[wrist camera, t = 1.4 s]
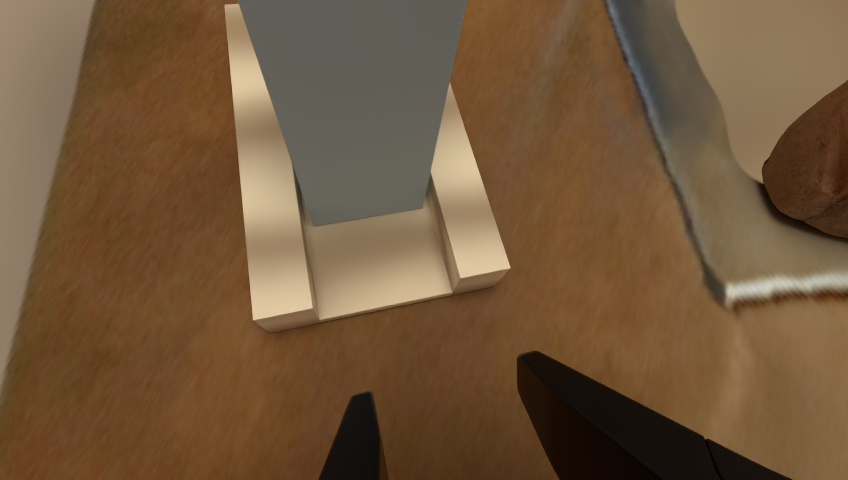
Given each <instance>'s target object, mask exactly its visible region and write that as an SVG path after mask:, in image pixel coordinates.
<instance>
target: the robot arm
mask: <svg viewBox="0 0 848 480" xmlns="http://www.w3.org/2000/svg"><path fill="white" fill-rule="evenodd" d="M517 387H518V392H519V395H520V397H521V400H522V402H523V404H524V406H525V408H526V411H527V413H528V415H529V417H530V419H531V422H532V424H533V426H534V428H535V431H536V433H537V435H538V437H539V439H540V442H541V444H542V446H543V448H544V450H545V453H546V455H547V457H548V459H549V461H550V463H551V465H552V467H553V469H554V470H555V472H556V474H557V476H558V478H559V479H560V480H792V479H790V478H788V477H786V476H784V475H781V474H779V473H777V472H775V471H773V470H770V469H768V468H766V467H764V466H762V465H760V464H758V463H756V462H754V461H752V460H750V459H748V458H746V457H744V456H742V455H740V454H738V453H736V452H734V451H732V450H730V449H728V448H726V447H724V446H722V445H720V444H718V443H716V442H714V441H712V440H710V439H705V438H704V437H703V436H702V435H700V434H698V433H696V432H694V431H692V430H690V429H689V428H687V427H685V426H683V425H681V424H679V423H677V422H675V421H673V420H671V419H669V418H667V417H665V416H663V415H661V414H659V413H657V412H655V411H654V410H652V409H650V408H648V407H646V406H644V405H642V404H640V403H638V402H636V401H634V400H632V399H630V398H628V397H626V396H624V395H622V394H620V393H619V392H617V391H615V390H613V389H611V388H609V387H607V386H605V385H603V384H601V383H599V382H597V381H595V380H593V379H591V378H589V377H587V376H585V375H584V374H582V373H580V372H578V371H576V370H574V369H572V368H570V367H568V366H566V365H564V364H562V363H560V362H558V361H556V360H554V359H552V358H551V357H549V356H547V355H545V354H543V353H541V352H539V351H531V352H527V353H522V354H520V355H519V356H518V358H517ZM318 480H389V478H388V473H387V467H386V462H385V456H384V451H383V445H382V440H381V434H380V429H379V424H378V418H377V413H376V407H375V402H374V397H373V393H372V392H371V391H366V392H362V393H358V394H354V395H353V396H352V397H351V398H350V401H349V403H348V406H347V408H346V411H345V413H344V416H343V418H342V421H341V423H340V426H339V429H338V431H337V434H336V436H335V439H334V441H333V444H332V446H331V449H330V451H329V454H328V457H327V459H326V462H325V464H324V467H323V469H322V472H321V474H320V477H319V479H318Z"/></svg>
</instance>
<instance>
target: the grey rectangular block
mask: <svg viewBox="0 0 848 480" xmlns="http://www.w3.org/2000/svg"><path fill="white" fill-rule="evenodd" d="M237 1H238V3H239V6H240V9H241V12H242V15H243V18H244V21H245V24H246V27H247V30H248V33H249V36H250V39H251V42H252V45H253V48H254V51H255V54H256V57H257V60H258V63H259V66H260V69H261V72H262V75H263V78H264V81H265V84H266V87H267V90H268V93H269V96H270V99H271V102H272V105H273V108H274V111H275V114H276V117H277V120H278V123H279V126H280V129H281V131H282V134H283V137H284V140H285V143H286V146H287V149H288V152H289V155H290V158H291V161H292V164H293V167H294V170H295V173H296V176H297V179H298V182H299V185H300V188H301V191H302V194H303V197H304V200H305V203H306V206H307V209H308V212H309V215H310V218H311V221H312V224H313V226H318V225H324V224H330V223H336V222H342V221H348V220H354V219H360V218H366V217H372V216H378V215H384V214H390V213H396V212H401V211H407V210H413V209H419V208H423V204H424V200H425V195H426V190H427V186H428V181H429V176H430V172H431V167H432V162H433V158H434V153H435V148H436V144H437V139H438V134H439V130H440V125H441V120H442V116H443V111H444V106H445V101H446V97H447V92H448V87H449V83H450V78H451V73H452V69H453V64H454V59H455V55H456V50H457V45H458V41H459V36H460V31H461V27H462V22H463V17H464V12H465V8H466V3H467V0H237Z"/></svg>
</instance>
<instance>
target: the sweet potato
mask: <svg viewBox="0 0 848 480" xmlns="http://www.w3.org/2000/svg"><path fill="white" fill-rule="evenodd" d="M762 176H763V182H764V185H765V187H766V190H767V192H768V194H769V196H770V199H771V201H772V203H773V204H774V205H775V206H776V208H777V209H778V210H779V211H781V212H782V213H784V214H786V215H788V216H790V217H792V218H794V219H797V220H802V221H804V222H805V223H807V224H809V225H811V226H813V227H816V228H818V229H819V230H821V231H823V232H825V233H828V234H831V235H835V236H840V237H845V238H848V80H847V81H846V82H845V83H843V84H842V85H841V86H839V87H838V88H837V89H835V90H834V91H832V92H831V93H829V94H828V95H826V96H825V97H824V98H822V99H821V100H820V101H819V102H817V103H816V104H815V105H814V106H812V107H811V108H810V109H809V110H807V111H806V112H805V113H803V114H802V115H801V116H800V117H799V118H798V119H797V120H796V121H795V122H793V123H792V124H791V125H790V126H789V127H788V128H787V130H786V131H785V132H784V134H783V135H782V136H781V137H780V139H779V140H778V142H777V144H776V146H775V148H774V149H773V151H772V153H771V155H770V157H769V158H768V159H767V160H766V161H765V162H764V165H763V167H762Z"/></svg>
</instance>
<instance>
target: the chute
mask: <svg viewBox="0 0 848 480" xmlns="http://www.w3.org/2000/svg"><path fill="white" fill-rule="evenodd" d="M225 16H226V27H227V38H228V49H229V60H230V71H231V81H232V92H233V103H234V114H235V125H236V136H237V147H238V158H239V169H240V180H241V191H242V202H243V213H244V224H245V235H246V246H247V257H248V268H249V279H250V290H251V301H252V312H253V320H254V321H255V322H256V323H257V324H259V325H260V326H261V327H262V328H264V329H265V330H266V331H268V332H269V333H273V332H278V331H283V330H287V329H292V328H297V327H302V326H306V325H311V324H316V323H321V322H326V321H330V320H335V319H340V318H345V317H349V316H354V315H359V314H364V313H369V312H373V311H378V310H383V309H388V308H392V307H397V306H402V305H407V304H412V303H416V302H421V301H426V300H431V299H435V298H440V297H445V296H450V295H454V294H459V293H464V292H469V291H474V290H478V289H483V288H488V287H493V286H495V285H496V284H497V283H498V282H499V281H500V279H501V278H502V277H503V276H504V275H505V274H506V273H507V271H508V270H509V269H510V265H509V262H508V259H507V256H506V253H505V250H504V247H503V244H502V241H501V238H500V235H499V232H498V229H497V225H496V222H495V219H494V216H493V213H492V210H491V207H490V204H489V201H488V198H487V195H486V192H485V189H484V186H483V183H482V180H481V177H480V173H479V170H478V167H477V164H476V161H475V158H474V155H473V152H472V149H471V146H470V143H469V140H468V137H467V134H466V131H465V128H464V125H463V121H462V118H461V115H460V112H459V109H458V106H457V103H456V100H455V97H454V94H453V91H452V88H451V85H450V83H449V87H448V92H447V97H446V101H445V106H444V111H443V116H442V120H441V125H440V130H439V134H438V139H437V144H436V148H435V153H434V158H433V162H432V167H431V172H430V176H429V181H428V186H427V190H426V195H425V200H424V204H423V208H419V209H413V210H407V211H401V212H396V213H390V214H384V215H378V216H372V217H366V218H360V219H354V220H348V221H342V222H336V223H330V224H324V225H318V226H313V224H312V221H311V218H310V215H309V212H308V209H307V206H306V203H305V200H304V197H303V194H302V191H301V188H300V185H299V182H298V179H297V176H296V173H295V170H294V167H293V164H292V161H291V158H290V155H289V152H288V149H287V146H286V143H285V140H284V137H283V134H282V131H281V129H280V126H279V123H278V120H277V117H276V114H275V111H274V108H273V105H272V102H271V99H270V96H269V93H268V90H267V87H266V84H265V81H264V78H263V75H262V72H261V69H260V66H259V63H258V60H257V57H256V54H255V51H254V48H253V45H252V42H251V39H250V36H249V33H248V30H247V27H246V24H245V21H244V18H243V15H242V12H241V9H240V6H239V4H230V5H225Z"/></svg>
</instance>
